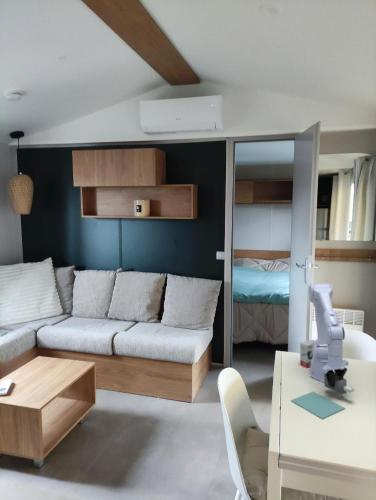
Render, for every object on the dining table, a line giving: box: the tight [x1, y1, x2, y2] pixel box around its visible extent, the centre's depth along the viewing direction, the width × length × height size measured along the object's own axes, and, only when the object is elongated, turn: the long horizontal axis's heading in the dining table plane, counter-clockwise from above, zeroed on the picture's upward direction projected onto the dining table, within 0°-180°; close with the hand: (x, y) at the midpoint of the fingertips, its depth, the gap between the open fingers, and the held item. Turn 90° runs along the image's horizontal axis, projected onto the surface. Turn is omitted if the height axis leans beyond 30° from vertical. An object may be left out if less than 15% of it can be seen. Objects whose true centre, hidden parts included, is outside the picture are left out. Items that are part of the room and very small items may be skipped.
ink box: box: [299, 339, 320, 369], centre depth 183 cm, size 9×5×12 cm, turn 114°
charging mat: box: [290, 391, 346, 420], centre depth 146 cm, size 16×13×1 cm
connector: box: [323, 374, 355, 395], centre depth 151 cm, size 13×4×5 cm, turn 30°
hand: (335, 385), depth 153 cm, fingers closed on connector, 4 cm apart
